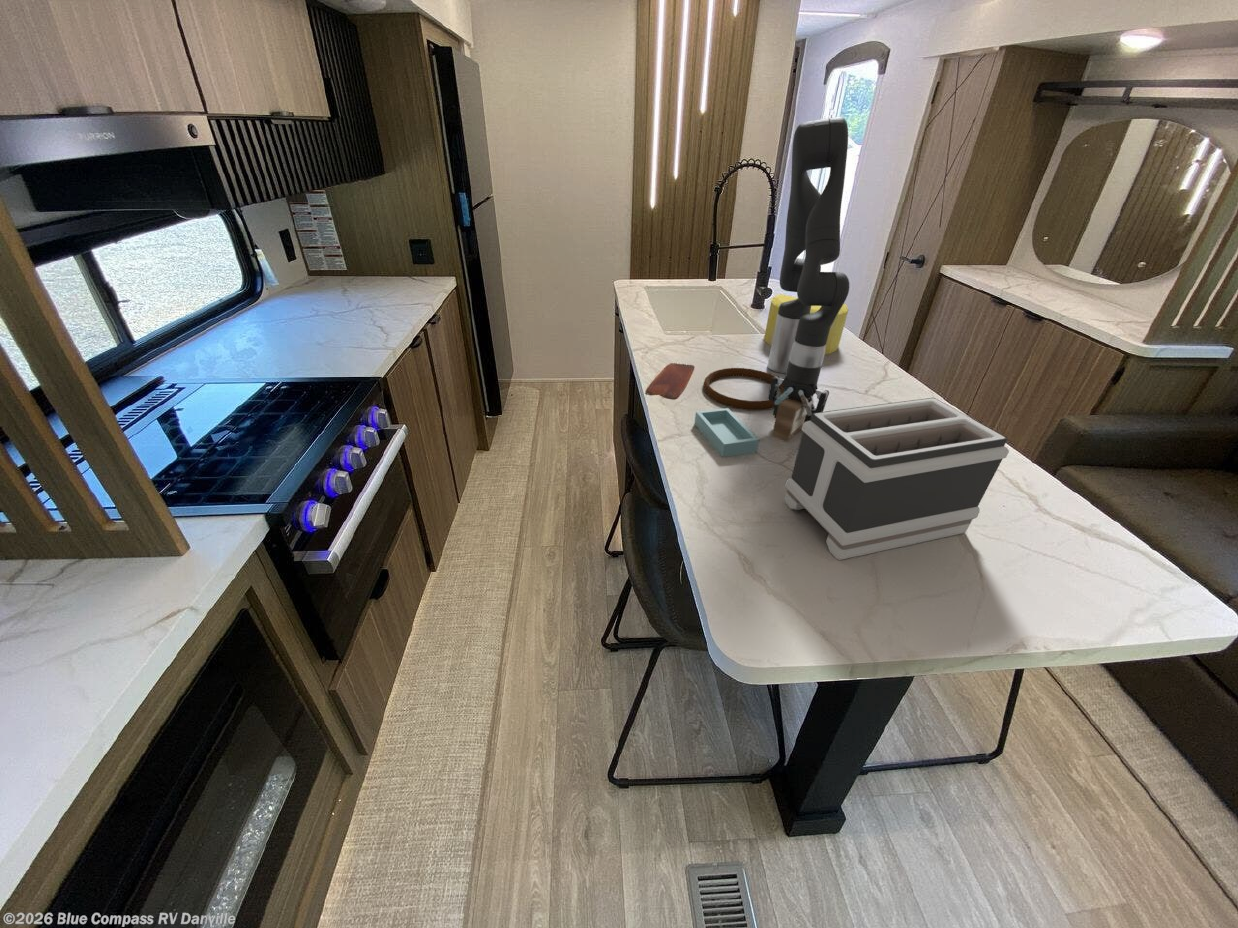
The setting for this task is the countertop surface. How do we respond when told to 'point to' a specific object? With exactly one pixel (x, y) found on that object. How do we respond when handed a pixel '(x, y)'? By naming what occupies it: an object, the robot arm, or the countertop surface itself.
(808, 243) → the robot arm
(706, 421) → the light blue rectangular tray
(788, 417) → the picture frame
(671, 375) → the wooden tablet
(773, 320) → the cheese
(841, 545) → the toaster
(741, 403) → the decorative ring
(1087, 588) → the countertop surface
